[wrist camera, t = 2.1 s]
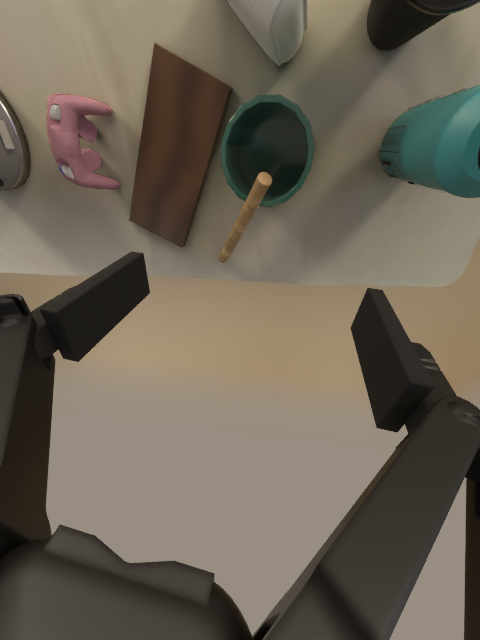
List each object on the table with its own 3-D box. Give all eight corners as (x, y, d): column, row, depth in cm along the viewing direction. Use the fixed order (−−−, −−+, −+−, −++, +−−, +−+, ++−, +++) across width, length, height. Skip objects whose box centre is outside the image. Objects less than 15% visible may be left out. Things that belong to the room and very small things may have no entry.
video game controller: (95, 99, 32) (30, 84, 27) (115, 103, 30) (49, 88, 25) (106, 183, 38) (55, 184, 33) (123, 192, 36) (71, 193, 31)
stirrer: (233, 162, 32) (217, 260, 39) (260, 171, 21) (232, 302, 28) (243, 165, 32) (226, 261, 40) (275, 174, 22) (243, 303, 29)
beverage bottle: (361, 161, 29) (435, 181, 13) (407, 90, 25) (597, -11, 9) (408, 188, 29) (534, 240, 13) (460, 123, 25) (729, 84, 9)
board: (132, 218, 39) (129, 220, 38) (158, 45, 27) (154, 42, 26) (184, 245, 39) (182, 247, 39) (232, 88, 27) (230, 87, 27)
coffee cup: (226, 174, 32) (208, 181, 26) (256, 89, 27) (243, 72, 21) (286, 207, 33) (282, 221, 27) (327, 130, 28) (334, 126, 22)
